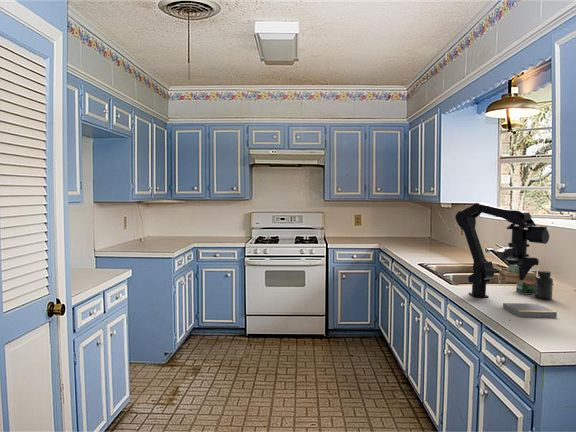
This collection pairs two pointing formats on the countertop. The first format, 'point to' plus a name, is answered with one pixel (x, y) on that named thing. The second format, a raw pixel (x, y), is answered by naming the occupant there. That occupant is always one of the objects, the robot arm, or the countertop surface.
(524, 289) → the canned tomato
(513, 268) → the pale green block
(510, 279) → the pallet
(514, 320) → the countertop surface
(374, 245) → the countertop surface
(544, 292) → the supplement bottle
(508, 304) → the dock
